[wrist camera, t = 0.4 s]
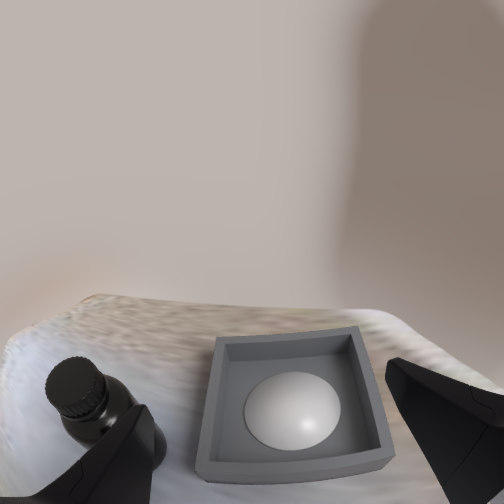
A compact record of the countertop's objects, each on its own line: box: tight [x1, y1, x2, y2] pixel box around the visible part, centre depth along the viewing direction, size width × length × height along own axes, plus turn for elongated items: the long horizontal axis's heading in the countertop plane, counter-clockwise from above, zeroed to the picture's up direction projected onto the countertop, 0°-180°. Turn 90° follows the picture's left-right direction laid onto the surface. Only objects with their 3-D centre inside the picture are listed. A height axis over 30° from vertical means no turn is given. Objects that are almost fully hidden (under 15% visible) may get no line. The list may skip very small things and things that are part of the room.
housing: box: [194, 326, 395, 485], centre depth 22 cm, size 15×15×4 cm
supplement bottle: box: [45, 356, 167, 470], centre depth 17 cm, size 7×7×12 cm
